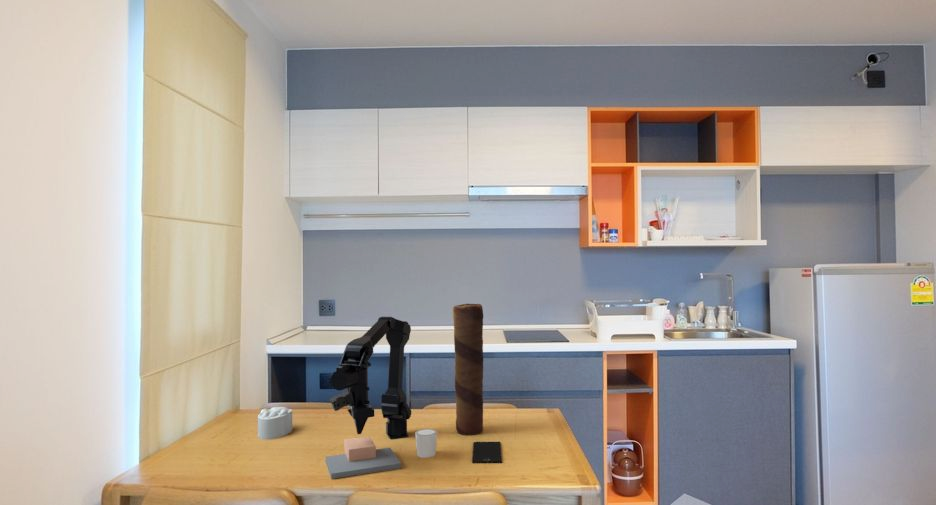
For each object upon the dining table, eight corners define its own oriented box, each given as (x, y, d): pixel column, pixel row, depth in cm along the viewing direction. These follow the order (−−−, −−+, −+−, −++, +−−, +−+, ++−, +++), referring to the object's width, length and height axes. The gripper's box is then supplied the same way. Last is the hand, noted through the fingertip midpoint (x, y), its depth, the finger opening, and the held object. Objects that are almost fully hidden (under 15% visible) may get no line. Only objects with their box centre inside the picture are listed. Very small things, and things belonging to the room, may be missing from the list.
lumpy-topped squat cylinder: (296, 428, 199) (295, 404, 200) (278, 440, 187) (278, 414, 187) (269, 427, 201) (269, 404, 201) (250, 439, 188) (250, 414, 188)
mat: (390, 452, 173) (390, 447, 173) (401, 468, 159) (401, 463, 159) (325, 461, 166) (325, 456, 166) (331, 479, 152) (331, 473, 152)
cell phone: (472, 464, 162) (472, 461, 162) (473, 444, 180) (473, 441, 180) (501, 464, 162) (501, 461, 162) (500, 444, 180) (500, 441, 180)
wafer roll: (480, 437, 186) (478, 305, 187) (451, 434, 189) (449, 305, 190) (489, 428, 196) (487, 303, 197) (461, 425, 199) (459, 302, 200)
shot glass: (420, 460, 166) (420, 436, 166) (412, 453, 172) (411, 430, 172) (441, 456, 169) (440, 433, 169) (432, 449, 175) (431, 427, 175)
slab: (369, 436, 173) (375, 446, 164) (369, 447, 173) (375, 457, 164) (344, 439, 171) (348, 449, 161) (344, 450, 171) (349, 461, 161)
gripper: (328, 379, 174) (328, 428, 174) (335, 392, 157) (336, 447, 156) (363, 376, 178) (363, 424, 178) (374, 388, 161) (375, 441, 160)
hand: (359, 433), depth 168 cm, fingers closed
